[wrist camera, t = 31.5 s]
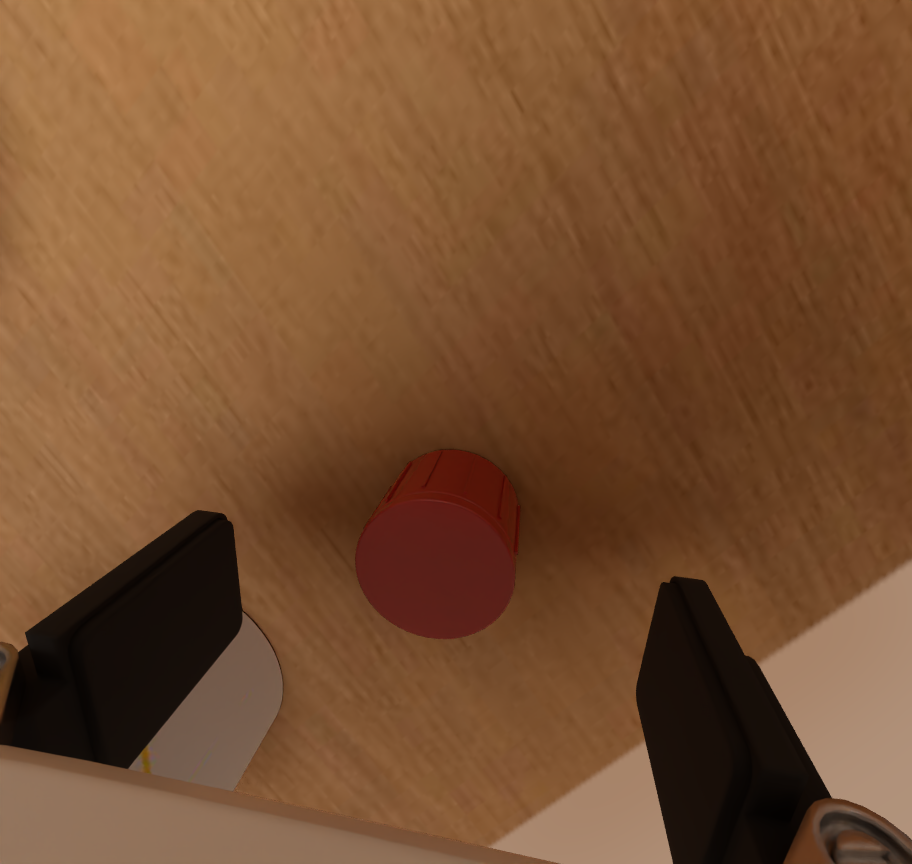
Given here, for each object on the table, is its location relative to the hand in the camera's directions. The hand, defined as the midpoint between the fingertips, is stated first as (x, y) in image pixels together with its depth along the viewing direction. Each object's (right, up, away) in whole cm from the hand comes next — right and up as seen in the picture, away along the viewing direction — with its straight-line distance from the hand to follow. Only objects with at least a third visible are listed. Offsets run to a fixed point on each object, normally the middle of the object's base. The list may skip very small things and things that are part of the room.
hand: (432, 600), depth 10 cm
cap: (0, +1, +4) cm, 4 cm away
